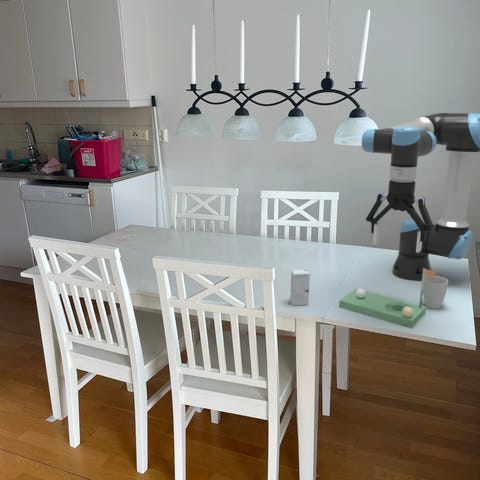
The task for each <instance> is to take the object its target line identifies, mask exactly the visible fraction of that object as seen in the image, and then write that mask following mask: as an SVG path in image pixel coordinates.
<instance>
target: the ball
mask: <svg viewBox="0 0 480 480" xmlns="http://www.w3.org/2000/svg"><path fill="white" fill-rule="evenodd" d="M357 289H358V290H357V291H356V295H357V297H358V298H364V297H365V295H366V292H365V291H366V290H365V289H363V288H357Z"/></svg>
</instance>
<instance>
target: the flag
mask: <svg viewBox="0 0 480 480" xmlns="http://www.w3.org/2000/svg"><path fill="white" fill-rule="evenodd" d="M425 276H427V277H431V278H435V276H436V270H432V269H431V270H427V269H425V268H423V275H422V280H421V285H420V286H421V287H420V293H419V294H420V295H419V296H420V297H419V304H418V305H419V307H420V308H421V307H422V306H423V299H424V298H423V289H424V280H425Z"/></svg>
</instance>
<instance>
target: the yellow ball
mask: <svg viewBox="0 0 480 480" xmlns="http://www.w3.org/2000/svg"><path fill="white" fill-rule="evenodd" d="M402 313H403V315H404V316H406V317H410V316H412V314H413V309H412V308H411V307H408V306H406V307H404V308H403V310H402Z"/></svg>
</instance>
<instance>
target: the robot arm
mask: <svg viewBox="0 0 480 480" xmlns="http://www.w3.org/2000/svg"><path fill="white" fill-rule="evenodd" d="M437 145H438V146H439V145H441V146H445V152H446V153H447V154H448V156H449V157H448V161H447V162H448V163H447V170H446V179H445V186H444V193H443V201H442V209H441V216H440V218H438V220H436V221H435V224H433V223H434V222H433V220H432V219H431V216H430V214H429V212H428V209H427V207H426V199H425V197H421V198H420V197H419V198H417V197H415V191H416V181H415V180H416V179H417V172H418V171H417V169H418V168H417V167H418V159H419V158H420V157H424V156H427V155H429V154H430V153H432V152H433V151H434V150H435V149H436V147H437ZM361 148H362V149H363V151H364V152H366V153H372V154H387V155H389V154H390V155H391V157H390V165H389V168H390V169H389V178H390V180H389V181H388V193H387V194H385V193H384V192H380V193H378V194H377V197H376V201H375V203H374V204H373V206H372V208H371V210H370V211H369V213H368V214H367V216H366V218H365V220H366V222H369V223H370V224H371V227H370V228H371V230H370V233H371V234H373V238H372V245H377V244H379V240H380V228H381V227H380V225H381V223H380V222H379V221H380V220H381V219H383V217H384V216H385V215H386V214H387V213H388V212H389V211H391V210H392V209H393V211H400V212H405V211H406V213H407V214H408V215H409V216H410V217H411V218H409V219H405V220H403V221H402V222H401V226H400V231H399V232H400V233H399V244H398V245H399V246H398V254H397V256H396V259H395V261H394V263H393V266H392V274H393V275H395V276H396V277H399V278H401V279H403V280H409V281H422V275H423V268H425V269H427V270H432V268H431V267H432V266H431V263H430V259H429V256H430V255H433V256H438V257H439V256H440V257H444V258H448V259H449V260H450V259H454V260H462V259H464V258H465V256H467V254H468V252H469V250H470V249H471V246H472V244H473V240H474V232H473V231H472V229H471V230H470V229H469V228H470V224H469V223H468V221H466V218H467V212H468V211H467V210H468V205H469V199H470V198H469V196H470V190H471V185H472V184H471V183H472V176H473V170H474V164H475V163H474V162H475V157H476V156H477V155H479V154H480V113H473V112H469V113H468V112H467V113H462V112H461V113H458V112H455V113H454V112H437V113H433V114H428V115H424V116H419V117H417V118H415V119H413V120H412V121H410V122H407V123H403V124H399V125H394V126H391V127H387V128H382V129H381V128H380V129H377V128H371V129H369V128H368V129H366V130H365V131H364V132H363V134H362V136H361ZM385 200H386V201H387V203H388V204H387V205H386V206H385V207H384V208H383V209H382V210H381V211H380V212H379V213H378V214H377V212H378V210H379V208H380V207H381V205H382V204H383V202H384V201H385ZM414 203H415V204H416V206H417V207H418V210H419V212H420V215H421V216H420V215H419V213H418V212H417V211H416V209H415V207H414V206H413V205H414ZM376 214H377V215H376ZM375 215H376V216H375Z"/></svg>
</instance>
